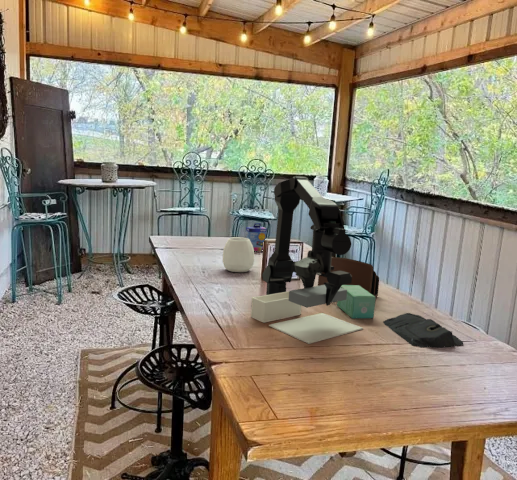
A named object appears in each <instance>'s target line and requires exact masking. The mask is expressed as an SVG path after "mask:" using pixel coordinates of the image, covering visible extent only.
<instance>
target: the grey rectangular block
mask: <svg viewBox="0 0 517 480" xmlns="http://www.w3.org/2000/svg"><path fill="white" fill-rule="evenodd" d="M288 291H289V301H290V302H293V303H296V304H298V305H301V307H303V308H311V307H317V306H321V305H326V286H325V285H320V286H318V285H316V286H313V287H309V288H304V287H303V288H298V289H293V290H288ZM346 297H347V290H346V289H343V288H340V289H339V290H338V292H337V293H336V295H335V296H334V298H333V300H332V302H331V303H337V301H342V300H346ZM331 303H330V304H331Z"/></svg>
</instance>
